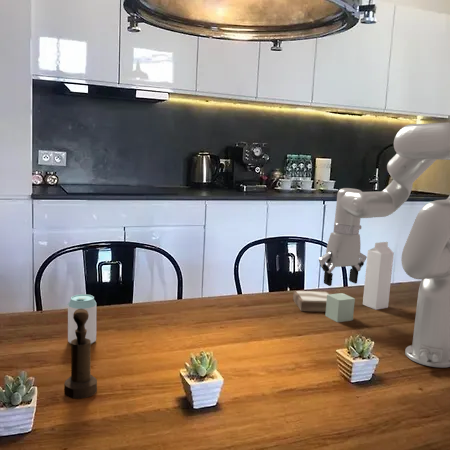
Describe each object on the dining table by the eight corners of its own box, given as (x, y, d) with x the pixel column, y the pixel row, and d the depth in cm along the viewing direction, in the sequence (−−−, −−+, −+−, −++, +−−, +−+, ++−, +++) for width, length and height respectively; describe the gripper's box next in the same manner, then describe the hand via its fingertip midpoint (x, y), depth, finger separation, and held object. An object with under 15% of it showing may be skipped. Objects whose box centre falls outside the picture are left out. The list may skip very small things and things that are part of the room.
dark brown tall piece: (84, 381, 116) (85, 302, 113) (103, 391, 112) (104, 309, 109) (58, 391, 111) (57, 309, 108) (76, 402, 107) (76, 317, 104)
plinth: (337, 311, 172) (338, 302, 171) (301, 311, 170) (301, 301, 170) (327, 300, 183) (327, 291, 183) (292, 299, 182) (293, 290, 182)
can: (99, 344, 136) (100, 299, 134) (72, 349, 133) (72, 303, 130) (91, 335, 142) (91, 292, 140) (64, 339, 138) (64, 295, 136)
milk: (362, 304, 180) (367, 241, 177) (374, 302, 184) (380, 239, 180) (376, 310, 175) (382, 244, 172) (388, 307, 179) (394, 243, 175)
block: (352, 320, 164) (354, 298, 163) (337, 322, 162) (338, 300, 161) (340, 314, 170) (342, 293, 169) (325, 316, 167) (327, 294, 166)
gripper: (360, 226, 168) (354, 278, 172) (315, 227, 161) (310, 281, 164) (377, 231, 162) (370, 285, 165) (330, 232, 154) (324, 289, 157)
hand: (340, 283), depth 164 cm, fingers open, 9 cm apart
